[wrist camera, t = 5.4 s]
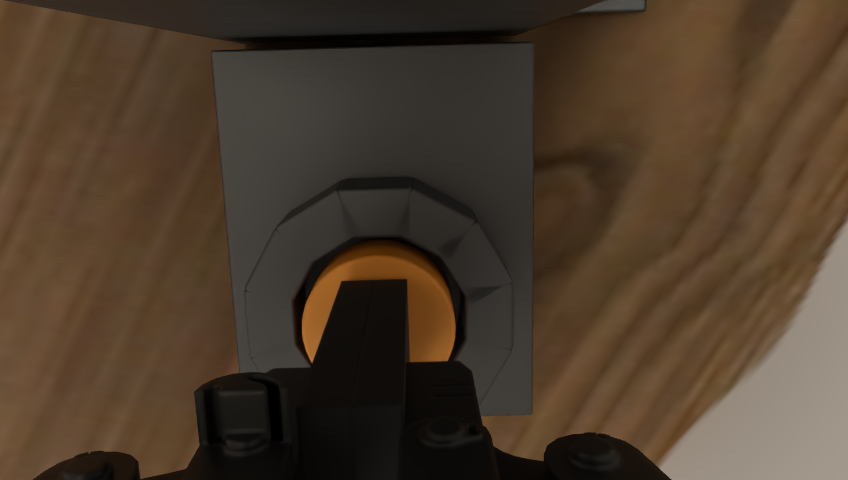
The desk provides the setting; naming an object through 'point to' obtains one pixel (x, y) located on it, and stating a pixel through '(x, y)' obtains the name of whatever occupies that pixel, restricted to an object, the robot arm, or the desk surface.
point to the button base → (383, 189)
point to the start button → (385, 262)
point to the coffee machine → (340, 17)
